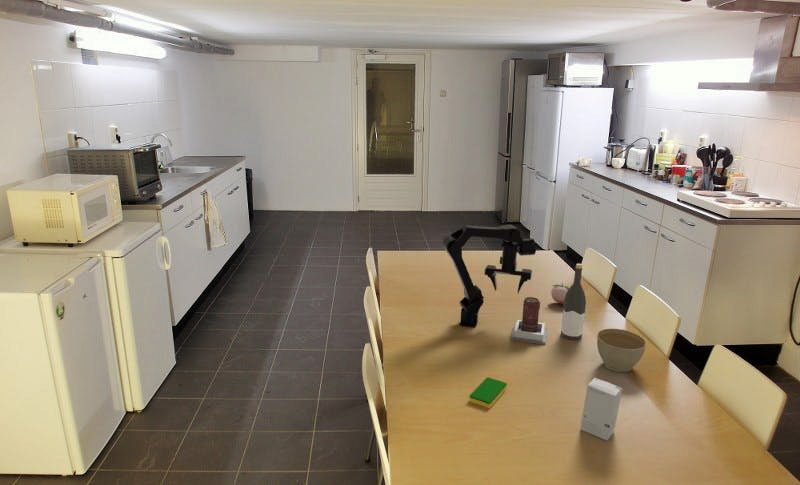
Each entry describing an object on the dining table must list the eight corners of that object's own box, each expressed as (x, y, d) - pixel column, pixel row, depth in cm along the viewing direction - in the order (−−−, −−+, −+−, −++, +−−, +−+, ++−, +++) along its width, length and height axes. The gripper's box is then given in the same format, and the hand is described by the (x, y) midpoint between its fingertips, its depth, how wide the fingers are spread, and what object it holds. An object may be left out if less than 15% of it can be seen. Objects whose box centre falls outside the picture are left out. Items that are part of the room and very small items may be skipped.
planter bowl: (620, 382, 181) (624, 353, 178) (583, 361, 194) (587, 333, 191) (652, 371, 188) (657, 343, 185) (615, 351, 201) (619, 325, 198)
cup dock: (510, 339, 210) (511, 331, 209) (514, 326, 222) (515, 318, 221) (545, 344, 206) (545, 336, 205) (546, 330, 218) (547, 322, 217)
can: (537, 336, 211) (540, 303, 207) (521, 334, 212) (523, 301, 208) (537, 329, 216) (540, 297, 212) (521, 328, 218) (524, 295, 214)
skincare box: (579, 430, 155) (585, 384, 151) (587, 420, 160) (593, 376, 155) (608, 442, 150) (615, 395, 146) (616, 432, 155) (622, 386, 150)
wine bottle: (583, 333, 216) (591, 262, 207) (580, 341, 209) (589, 269, 200) (562, 329, 219) (569, 259, 211) (559, 337, 212) (566, 265, 204)
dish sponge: (506, 389, 176) (507, 382, 176) (489, 409, 165) (490, 402, 165) (486, 383, 180) (487, 376, 179) (468, 402, 169) (469, 395, 168)
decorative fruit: (548, 305, 243) (550, 285, 240) (551, 299, 250) (553, 279, 247) (570, 309, 239) (572, 288, 236) (572, 302, 247) (574, 282, 244)
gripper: (534, 252, 224) (531, 287, 228) (489, 248, 229) (487, 282, 234) (532, 260, 214) (529, 297, 218) (485, 255, 219) (483, 291, 223)
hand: (506, 291), depth 223 cm, fingers open, 9 cm apart
